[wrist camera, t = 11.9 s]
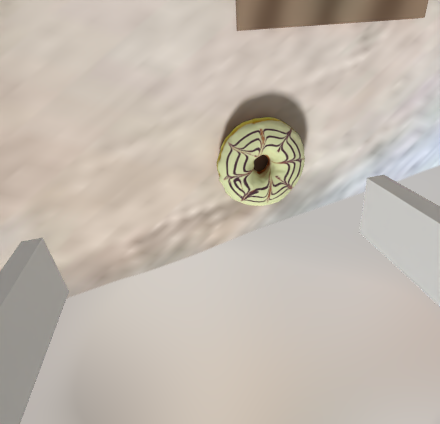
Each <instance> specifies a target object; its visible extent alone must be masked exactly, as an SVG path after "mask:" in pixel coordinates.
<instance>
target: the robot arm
mask: <svg viewBox="0 0 440 424" xmlns="http://www.w3.org/2000/svg"><path fill="white" fill-rule="evenodd" d="M359 233H360V234H361V235H362V236H364V237H365V238H366V239H367V240H368V241H369V242H370V243H371V244H372V245H373V246H374V247H375V248H377V249H378V250H379V251H380V252H381V253H382V254H383V255H384V256H385V257H386V258H388V259H389V260H390V261H391V262H392V263H393V264H394V265H395V266H396V267H397V268H398V269H399V270H400V271H401V272H403V273H404V274H405V275H406V276H407V277H408V278H409V279H410V280H411V281H412V282H413V283H414V284H416V285H417V286H418V287H419V288H420V289H421V290H422V291H423V292H424V293H425V294H426V295H427V296H429V297H430V298H431V299H432V300H433V301H434V302H435V303H436V304H437V305H438V306H439V307H440V206H438V205H436V204H434V203H433V202H431V201H429V200H427V199H425V198H423V197H422V196H420V195H418V194H417V193H415V192H413V191H411V190H410V189H408V188H406V187H404V186H402V185H401V184H399V183H397V182H395V181H394V180H392V179H390V178H388V177H387V176H385V175H380V176H375V177H370V178H367V181H366V188H365V195H364V202H363V210H362V217H361V224H360V230H359ZM68 293H69V290H68V288H67V286H66V284H65V282H64V280H63V278H62V276H61V274H60V272H59V270H58V268H57V266H56V264H55V262H54V260H53V258H52V256H51V254H50V252H49V250H48V248H47V246H46V243H45V241H44V239H43V238H39V239H33V240H28V241H22V242H21V243H20V244H19V246H18V247H17V249H16V250H15V251H14V253H13V254H12V256H11V257H10V258H9V260H8V261H7V263H6V264H5V265H4V267H3V268H2V270H1V271H0V424H20V422H21V419H22V417H23V414H24V411H25V408H26V406H27V403H28V401H29V398H30V395H31V392H32V390H33V387H34V384H35V382H36V379H37V376H38V374H39V371H40V368H41V366H42V363H43V360H44V357H45V355H46V352H47V349H48V347H49V344H50V341H51V339H52V336H53V333H54V330H55V328H56V325H57V322H58V319H59V317H60V314H61V311H62V309H63V306H64V303H65V301H66V298H67V295H68Z"/></svg>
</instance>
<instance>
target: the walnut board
mask: <svg viewBox="0 0 440 424" xmlns="http://www.w3.org/2000/svg"><path fill="white" fill-rule="evenodd" d="M427 4H428V0H236V20H237V31H241V30H256V29H270V28H285V27H299V26H314V25H328V24H343V23H357V22H372V21H386V20H401V19H415V18H423V17H425V13H426V9H427Z"/></svg>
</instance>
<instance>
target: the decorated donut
mask: <svg viewBox="0 0 440 424" xmlns="http://www.w3.org/2000/svg"><path fill="white" fill-rule="evenodd" d="M261 155H266V156H267V158H268V162H267V165H266V167H265V169H263V170H261V171H257V172H256V171H255V170H254V160H255V159H256V158H258V157H259V156H261ZM304 160H305V158H304V147H303V144H302V141H301V138H300V136H299V135H298V134H297V132H295V131H294V130H293V129H292V128H291V127H290V126H289V125H287V124H286V123H284V122H283V121H281V120H278V119H276V118H272V117H264V118H256V119H252V120H249V121H245V122H243V123H241V124H240V125H238V126H237V127H235V128H234V129H233V131H232V132H231V133H230V134H229V135H228V136H227V137H226V139H225V140H224V142H223V144H222V146H221V150H220V153H219V157H218V160H217V170H218V172H219V177H220V178H219V181H220V182H221V183H222V185H223V186H224V189H225V191H226V193H227V194H228V195H229V196H230V197H231V198H233V199H234V200H237V201H239V202H241V203H244V204H247V205H253V206H254V205H255V206H263V205H269V204H272V203H276V202H278V201H280V200H281V199H283V198H284V197H285V196H286V195H287V194H288V193H289V192H290V191H291V189H292V188H293V187H294V186H295V185H296V183H297V182H298V180H299V178H300V176H301V173H302V170H303V167H304Z"/></svg>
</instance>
